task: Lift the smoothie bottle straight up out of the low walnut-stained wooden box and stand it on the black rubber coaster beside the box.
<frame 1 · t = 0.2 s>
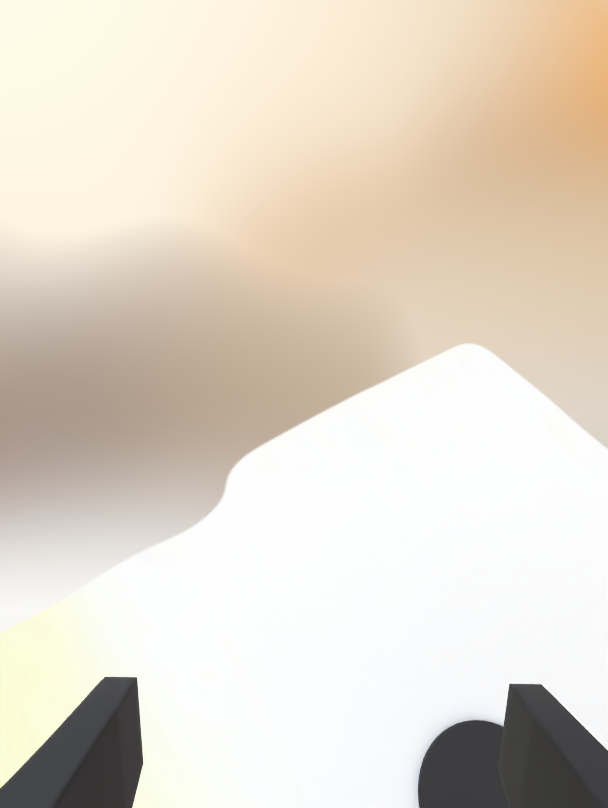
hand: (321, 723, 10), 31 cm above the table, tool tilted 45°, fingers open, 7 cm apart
coaster: (486, 800, 35), on the table
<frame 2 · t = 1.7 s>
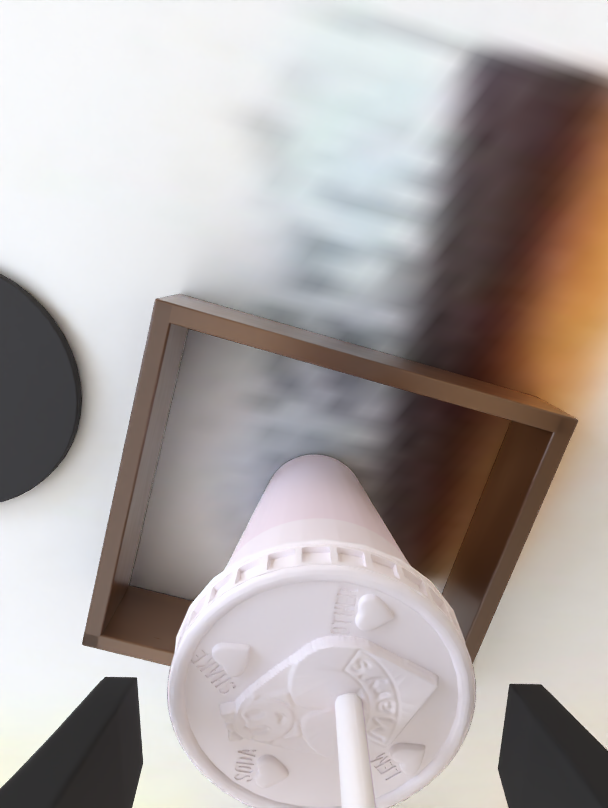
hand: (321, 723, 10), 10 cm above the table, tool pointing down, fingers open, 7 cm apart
box: (313, 500, 20), on the table
smoothie: (313, 498, 20), resting in box
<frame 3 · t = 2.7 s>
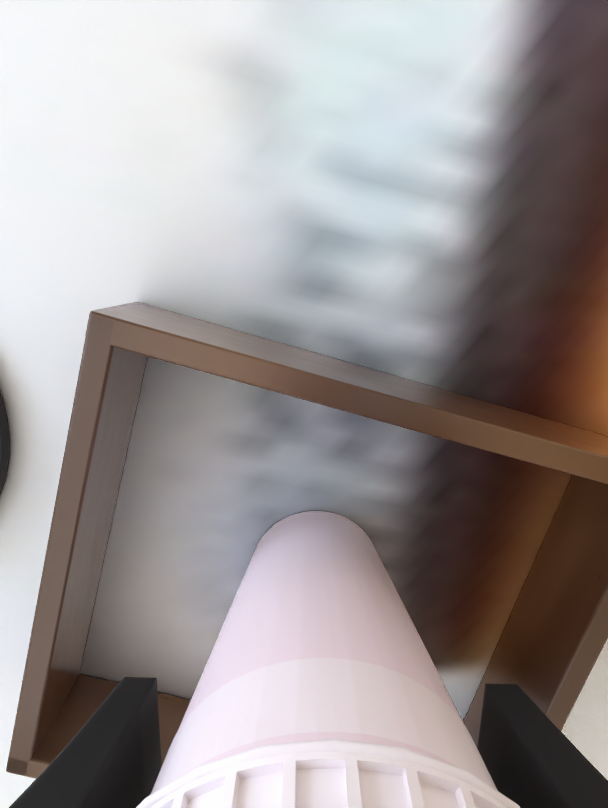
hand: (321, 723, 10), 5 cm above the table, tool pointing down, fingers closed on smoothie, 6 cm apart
box: (316, 568, 15), on the table
smoothie: (314, 565, 16), resting in box, touching gripper
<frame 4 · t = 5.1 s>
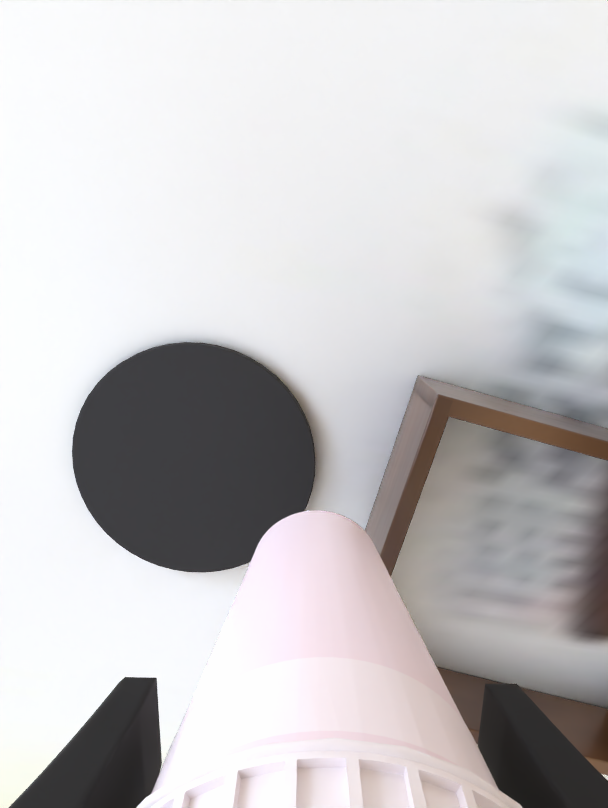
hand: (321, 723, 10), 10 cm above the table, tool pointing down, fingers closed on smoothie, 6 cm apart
coaster: (195, 461, 20), on the table
box: (525, 564, 21), on the table
smoothie: (315, 564, 16), point 5 cm above the table, touching gripper
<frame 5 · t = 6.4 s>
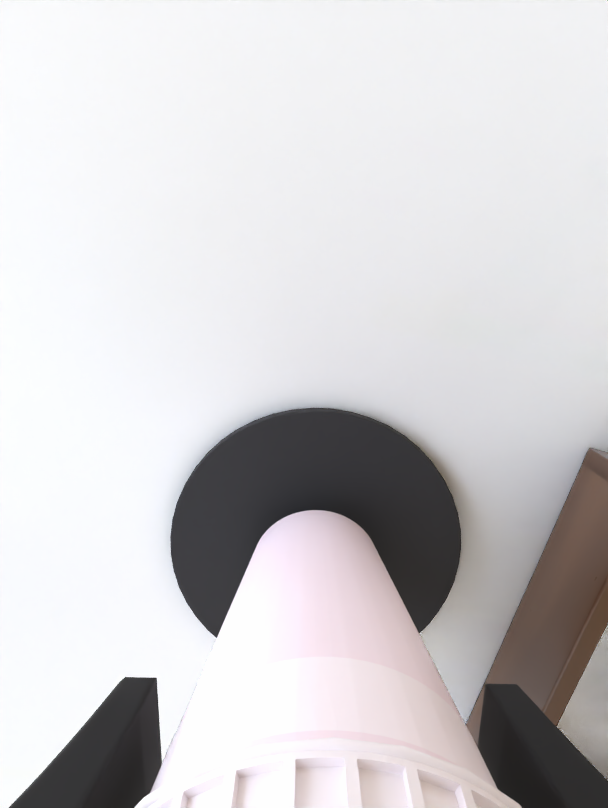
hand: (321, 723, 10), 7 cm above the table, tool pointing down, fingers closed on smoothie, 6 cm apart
coaster: (315, 544, 17), on the table
smoothie: (314, 564, 16), point 1 cm above the table, touching gripper
when the fingers open (6 cm above the table, at t = 7.3 s): smoothie stays where it is, resting on coaster.
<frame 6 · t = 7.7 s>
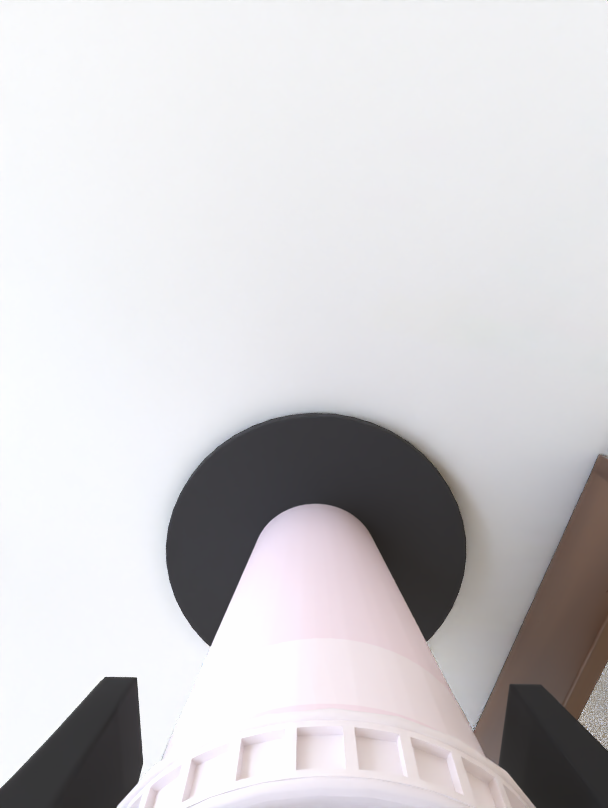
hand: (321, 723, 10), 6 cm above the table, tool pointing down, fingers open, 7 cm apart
coaster: (315, 554, 16), on the table
smoothie: (314, 557, 16), resting on coaster
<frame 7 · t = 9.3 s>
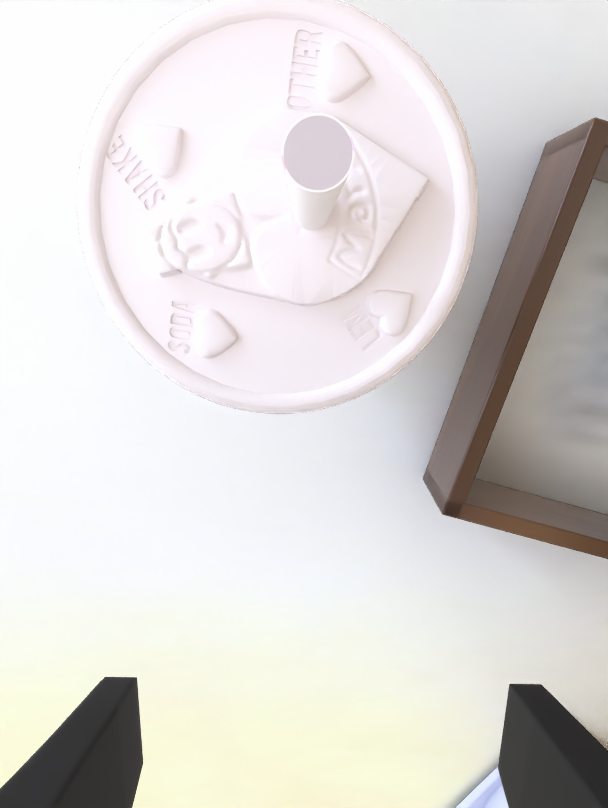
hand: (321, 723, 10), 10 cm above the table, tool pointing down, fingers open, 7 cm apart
smoothie: (292, 246, 18), resting on coaster
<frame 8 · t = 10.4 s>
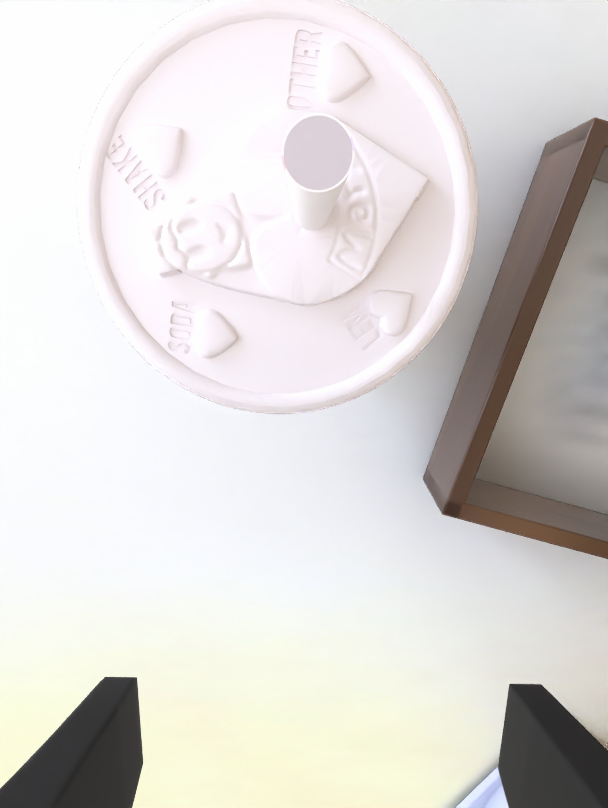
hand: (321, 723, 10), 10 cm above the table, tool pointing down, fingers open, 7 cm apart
smoothie: (292, 246, 18), resting on coaster
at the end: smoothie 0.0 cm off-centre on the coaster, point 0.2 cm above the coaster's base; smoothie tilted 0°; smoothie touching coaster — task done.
